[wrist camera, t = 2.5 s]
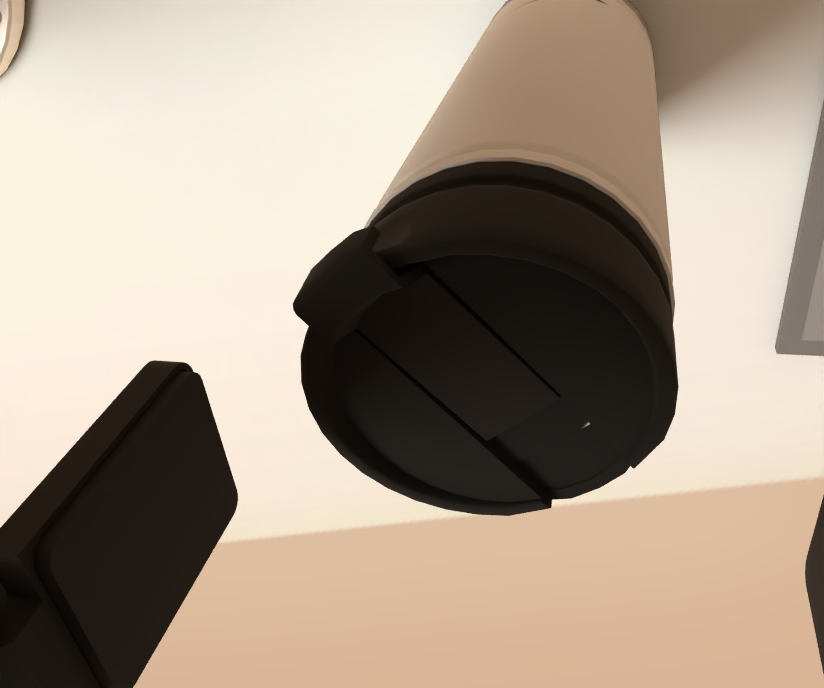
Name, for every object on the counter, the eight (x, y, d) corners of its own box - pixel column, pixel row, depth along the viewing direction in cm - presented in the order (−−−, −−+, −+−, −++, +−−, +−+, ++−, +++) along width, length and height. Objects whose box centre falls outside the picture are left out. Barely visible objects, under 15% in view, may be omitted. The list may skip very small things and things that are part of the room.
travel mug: (571, -77, 25) (471, 136, 10) (690, 75, 27) (772, 466, 11) (438, 54, 29) (201, 372, 13) (551, 181, 31) (466, 598, 15)
